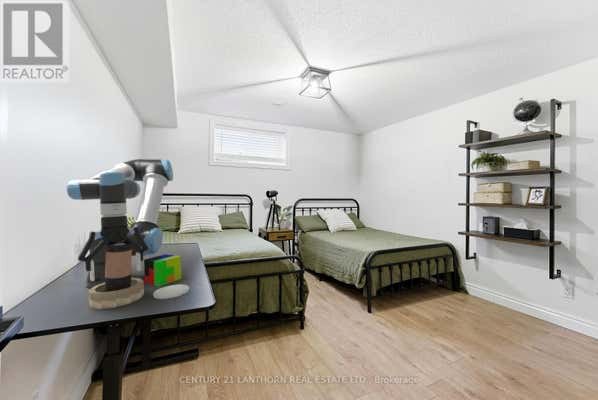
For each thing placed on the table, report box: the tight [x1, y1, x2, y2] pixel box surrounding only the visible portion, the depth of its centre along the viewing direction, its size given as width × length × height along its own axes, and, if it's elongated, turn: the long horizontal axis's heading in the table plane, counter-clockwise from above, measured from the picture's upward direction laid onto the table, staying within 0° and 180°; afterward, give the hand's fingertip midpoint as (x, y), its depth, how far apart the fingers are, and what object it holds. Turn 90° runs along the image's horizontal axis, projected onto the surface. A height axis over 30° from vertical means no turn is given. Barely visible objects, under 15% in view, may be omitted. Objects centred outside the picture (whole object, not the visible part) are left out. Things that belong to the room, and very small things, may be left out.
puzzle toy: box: [143, 253, 182, 287], centre depth 108 cm, size 10×10×10 cm
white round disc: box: [152, 284, 190, 300], centre depth 95 cm, size 12×12×1 cm
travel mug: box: [105, 241, 133, 292], centre depth 90 cm, size 8×8×20 cm
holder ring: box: [88, 277, 145, 310], centre depth 90 cm, size 15×15×5 cm
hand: (116, 275), depth 90 cm, fingers open, 13 cm apart
